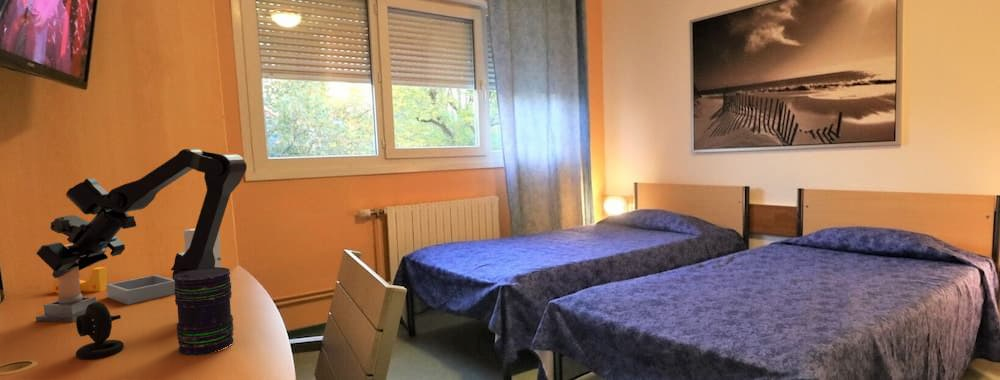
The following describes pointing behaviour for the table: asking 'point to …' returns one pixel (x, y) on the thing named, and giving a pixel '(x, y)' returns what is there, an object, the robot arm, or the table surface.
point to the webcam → (97, 332)
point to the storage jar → (203, 310)
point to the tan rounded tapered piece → (69, 286)
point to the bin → (140, 289)
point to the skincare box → (216, 250)
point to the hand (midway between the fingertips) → (62, 274)
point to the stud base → (65, 310)
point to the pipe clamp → (91, 281)
